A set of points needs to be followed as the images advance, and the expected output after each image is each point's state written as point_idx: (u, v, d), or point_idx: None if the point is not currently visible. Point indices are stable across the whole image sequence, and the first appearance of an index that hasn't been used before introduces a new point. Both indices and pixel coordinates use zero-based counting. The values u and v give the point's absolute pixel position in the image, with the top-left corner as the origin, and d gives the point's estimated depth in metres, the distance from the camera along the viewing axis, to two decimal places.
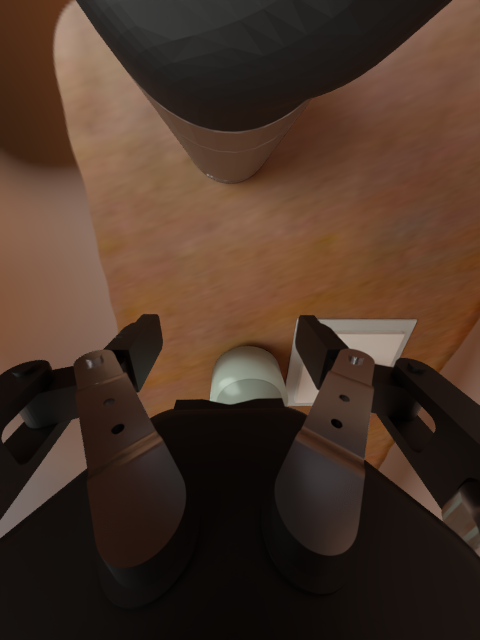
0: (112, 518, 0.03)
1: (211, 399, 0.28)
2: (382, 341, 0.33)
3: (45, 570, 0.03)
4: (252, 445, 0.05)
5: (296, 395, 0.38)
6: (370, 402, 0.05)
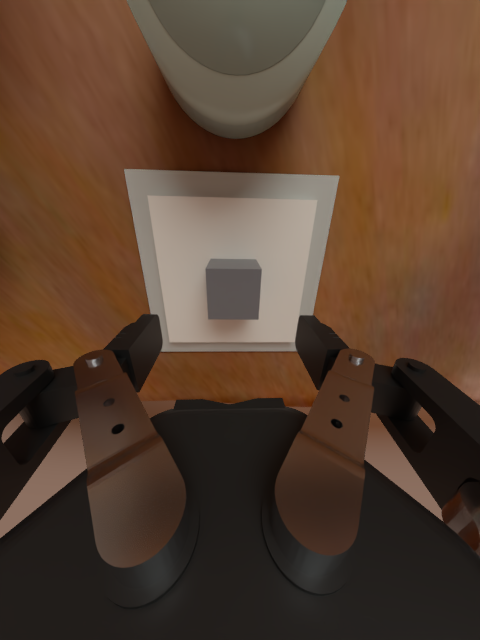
0: (112, 518, 0.03)
1: None
2: (287, 319, 0.24)
3: (45, 570, 0.03)
4: (252, 445, 0.05)
5: None
6: (370, 402, 0.05)
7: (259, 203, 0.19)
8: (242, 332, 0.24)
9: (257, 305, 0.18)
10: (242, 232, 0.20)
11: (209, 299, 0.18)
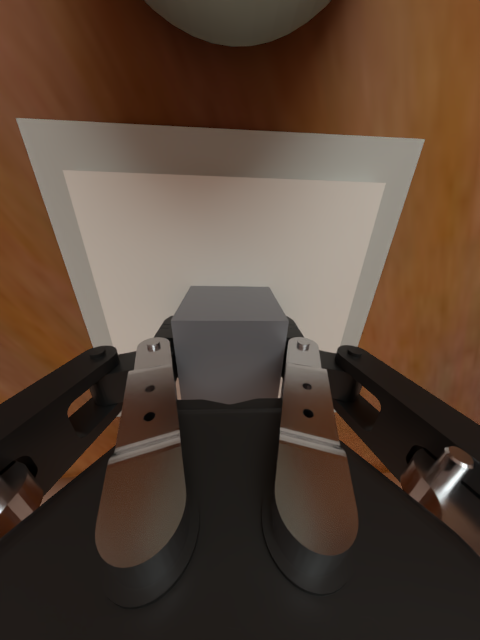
0: (112, 518, 0.03)
1: None
2: None
3: (43, 586, 0.03)
4: (252, 445, 0.05)
5: None
6: (327, 384, 0.06)
7: (278, 188, 0.10)
8: None
9: (276, 382, 0.09)
10: (245, 241, 0.11)
11: (182, 375, 0.09)
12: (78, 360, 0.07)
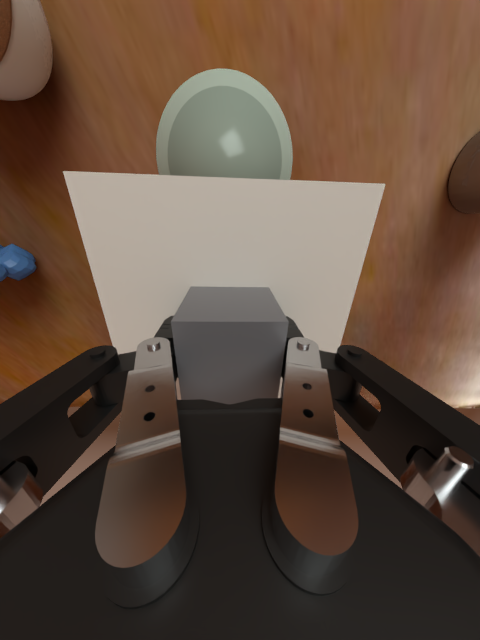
0: (112, 518, 0.03)
1: (240, 75, 0.15)
2: None
3: (42, 586, 0.03)
4: (252, 445, 0.05)
5: None
6: (327, 384, 0.06)
7: (278, 189, 0.10)
8: None
9: (276, 383, 0.09)
10: (245, 242, 0.11)
11: (182, 375, 0.09)
12: (78, 360, 0.07)
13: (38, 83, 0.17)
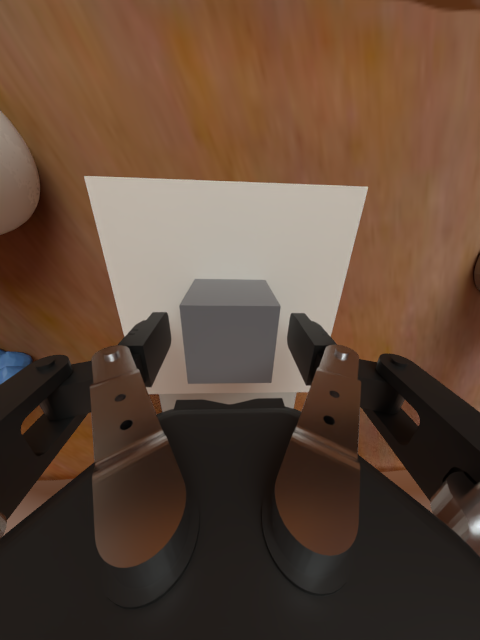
0: (112, 518, 0.03)
1: None
2: None
3: (45, 574, 0.03)
4: (252, 445, 0.05)
5: None
6: (358, 396, 0.05)
7: (273, 191, 0.11)
8: None
9: (270, 362, 0.11)
10: (244, 238, 0.12)
11: (188, 354, 0.10)
12: (22, 374, 0.06)
13: (25, 218, 0.16)
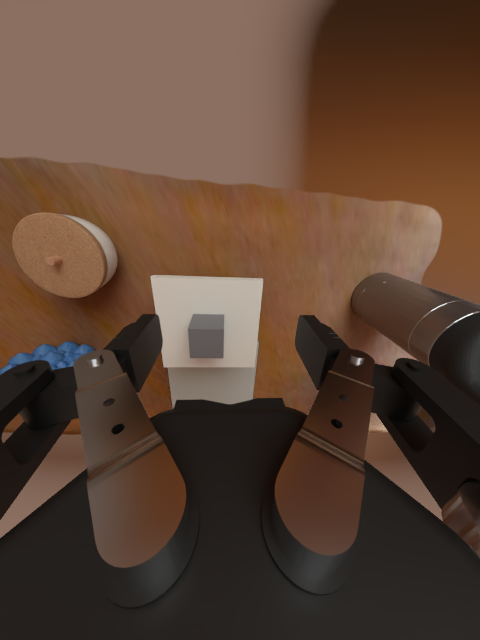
0: (112, 518, 0.03)
1: None
2: (248, 352, 0.34)
3: (45, 570, 0.03)
4: (252, 445, 0.05)
5: (163, 276, 0.28)
6: (370, 402, 0.05)
7: (225, 282, 0.28)
8: (216, 360, 0.34)
9: (222, 349, 0.28)
10: (214, 298, 0.29)
11: (190, 346, 0.27)
12: None
13: None
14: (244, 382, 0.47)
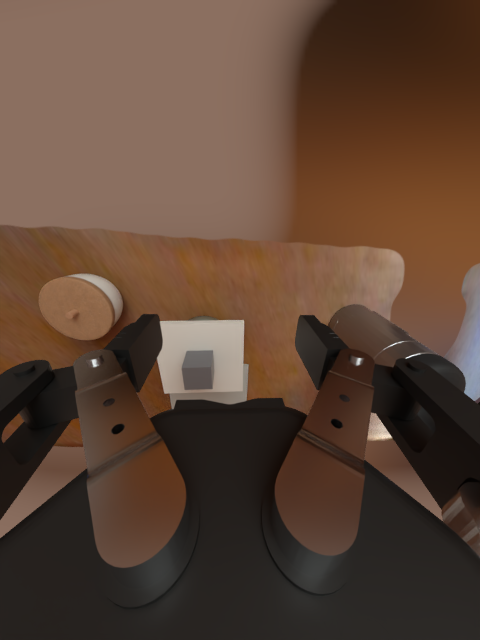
0: (112, 518, 0.03)
1: None
2: (236, 379, 0.39)
3: (45, 570, 0.03)
4: (252, 445, 0.05)
5: (161, 323, 0.33)
6: (370, 402, 0.05)
7: (211, 325, 0.34)
8: None
9: (211, 382, 0.33)
10: (203, 338, 0.35)
11: (184, 381, 0.33)
12: None
13: None
14: (237, 399, 0.53)
